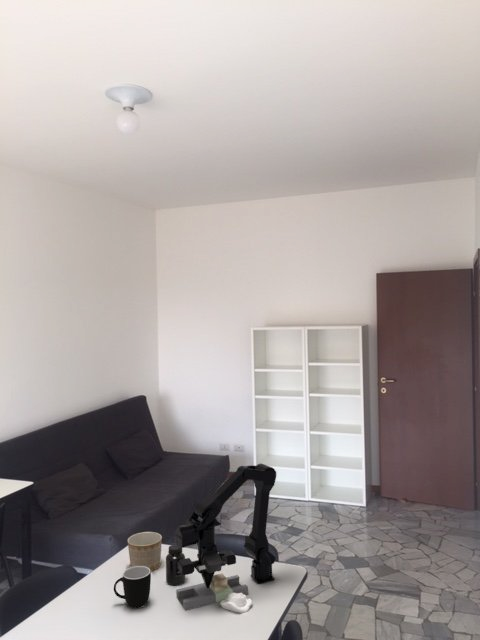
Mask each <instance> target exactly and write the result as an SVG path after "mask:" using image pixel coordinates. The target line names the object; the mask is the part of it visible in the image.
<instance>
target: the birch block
mask: <svg viewBox="0 0 480 640" xmlns="http://www.w3.org/2000/svg"><path fill="white" fill-rule="evenodd" d="M210 586H211V587H212V588H213V590H214V591H218V590H222V589H226V588H228V587H227V577H226V576H225V575H224V573H222V572H221V573H217V574H214V575H213V578H212V581H211V584H210Z"/></svg>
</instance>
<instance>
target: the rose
mask: <svg viewBox="0 0 480 640" xmlns="http://www.w3.org/2000/svg"><path fill="white" fill-rule="evenodd" d="M252 604H253V600H252V599H251V598H247V595H243V593H230V594H229V595H228V598H226V599H225V600H222V601H220V606H221V607H222V608H223V609H226V610H228V611H232V612H235V613H241V614H242V613H247V612H248V611H249V610H250V607H251V606H252Z"/></svg>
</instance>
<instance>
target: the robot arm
mask: <svg viewBox="0 0 480 640" xmlns="http://www.w3.org/2000/svg"><path fill="white" fill-rule="evenodd" d="M276 478H277V471H276V469H275V468H273V467H272V466H270V465H267V464H265V463H258V464H256V465H253V464H252V465H239V467H237V469H236V471H235V472H234V473H232V474H231V476H229V478H228V479H227V480H225V481H224V482H223V483H222V484H221V486H219V488H218V489H216V490H215V491H214V492H213V493H211V494H209V495H207V496H205V497H203V498H202V499H200V500H198V502H197V503H196V504H195V506H194V510H193V511H192V513H191V515H190V517H189V519H188V523H185V524H179V525H177V529H176V531H175V534H174V541H175V544H176V545H177V547H178V548H182V549H184V548H186V547H190V546H191V547H192V546H194V545H196V546H197V555H196V557H197V558H198V559H197V560H193V561H192V559H191V558H190V557H187V558H186V557H185V559H182V560H179V562H178V569H179V571H180V572H181V573H182V575H185V576H188V575H192V574H193V573H194V572H195V570H196V571H197V573H198V574H200V575H201V577H202V580H203V583H205V585H206V588H209V587H210V584H211V581H212V578H213V575H215V573H216V572H221V571H222V568H223V567H224V566H226V565H227V566H232V565H235V564H236V563H237V558H236V555H235V553H233V551H231V550H230V549H225V550H219V551H218V545H217V544H216V529H215V528H216V527H218V526H221V524H222V523H221V522H219V520H218V519H217V517H218V516H219V514H220V513H221V512H222V509H223V506H224V505H225V504H226V502H227V501H228V500H229V499H230V498H231V497H232V496H233V495H234V494H235V493H236V492H237V491H238V490H239V489H240V488H241V487H242V486H243V485H244V484H245V483H246V482H247V481H248V480H252V481H253V485H254V487H255V497H254V507H253V517H252V526H251V527H252V528H251V532H250V533H249V534H248V535H245V536H244V539H245V541H244V544H243V547H244V550H245V553H246V554H247V555H248V556H249V559H252V561H251V562H252V563H251V565H250V571H251V572H250V573H251V574H250V577H251V578H252V579H253V581H255V583H257V584H258V585H259V584H262V583H263V584H264V583H268V582H272V581H275V577H274V576H273V564H275V561H276V556H275V555H273V554H272V553H271V552H270V545H269V540H268V536H267V533H266V532H267V523H268V522H267V521H268V512H269V503H270V493H271V490H272V489H273V487H274V486H275V484H276V480H277V479H276ZM199 519H200V520H201V521H200V520H199Z"/></svg>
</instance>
